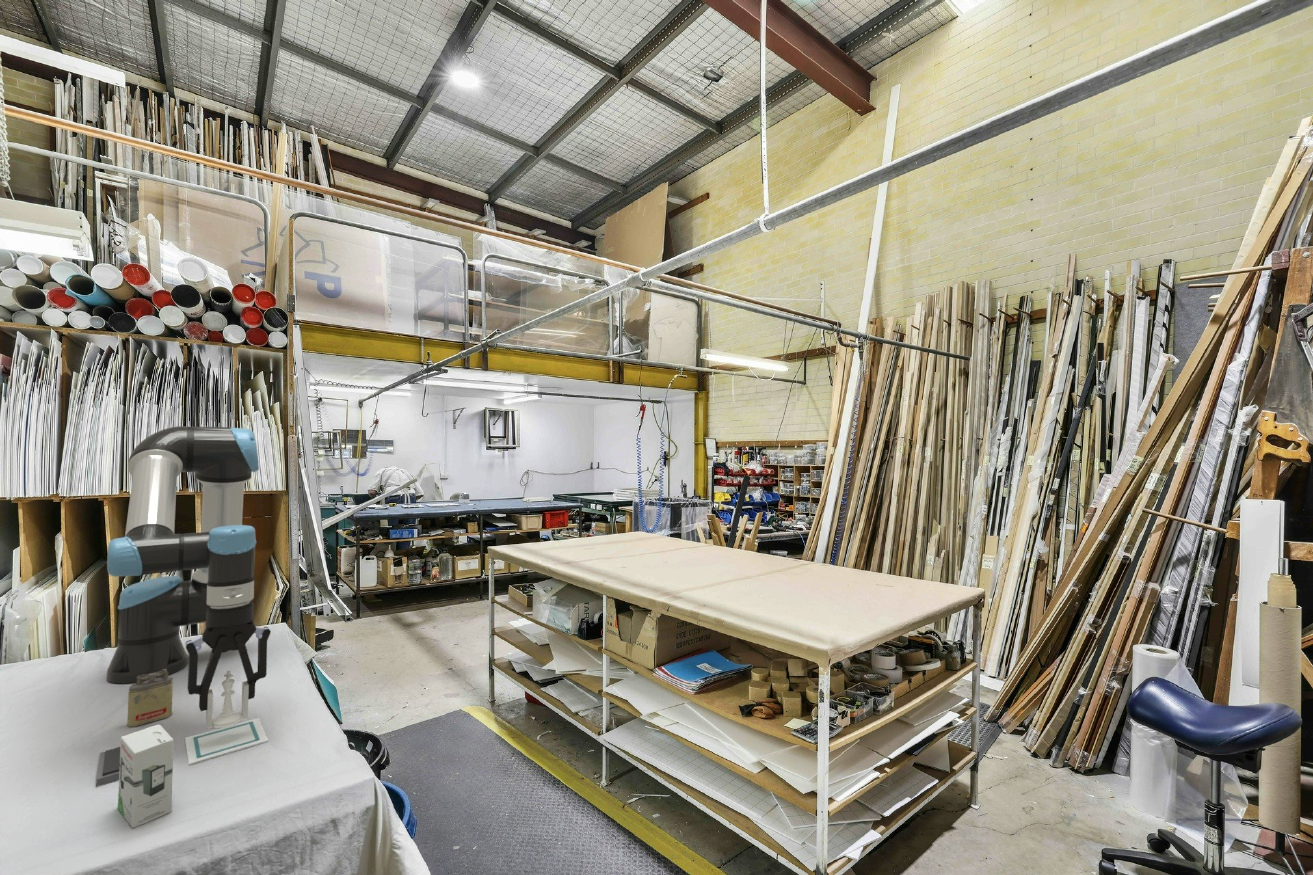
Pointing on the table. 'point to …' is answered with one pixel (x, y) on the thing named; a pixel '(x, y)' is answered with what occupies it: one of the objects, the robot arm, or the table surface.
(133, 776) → the ink box
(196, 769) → the table surface
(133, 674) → the robot arm
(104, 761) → the ink pad
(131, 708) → the lighter
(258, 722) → the print card
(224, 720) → the chess piece
